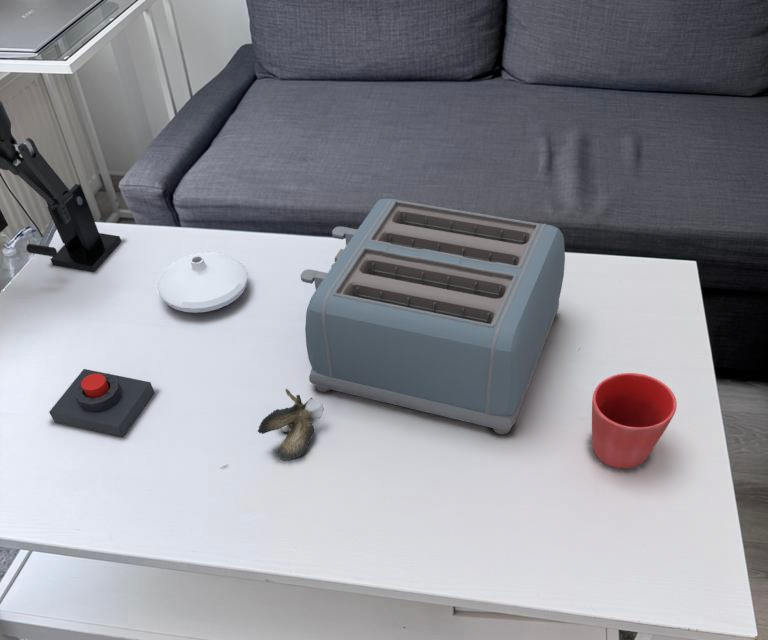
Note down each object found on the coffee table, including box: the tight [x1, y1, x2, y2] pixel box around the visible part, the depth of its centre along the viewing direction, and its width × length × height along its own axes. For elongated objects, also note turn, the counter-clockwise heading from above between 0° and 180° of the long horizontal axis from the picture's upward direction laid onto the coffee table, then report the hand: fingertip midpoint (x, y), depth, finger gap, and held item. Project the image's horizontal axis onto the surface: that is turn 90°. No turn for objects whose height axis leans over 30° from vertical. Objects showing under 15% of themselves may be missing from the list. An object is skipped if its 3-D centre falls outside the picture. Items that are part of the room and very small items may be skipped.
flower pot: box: [591, 372, 677, 469], centre depth 102 cm, size 11×11×10 cm
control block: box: [48, 368, 155, 438], centre depth 114 cm, size 12×10×4 cm
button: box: [81, 374, 109, 398], centre depth 112 cm, size 4×4×2 cm
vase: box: [156, 251, 248, 314], centre depth 130 cm, size 16×16×7 cm
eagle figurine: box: [257, 388, 324, 461], centre depth 108 cm, size 8×7×9 cm
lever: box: [26, 187, 71, 258], centre depth 132 cm, size 13×5×2 cm, turn 162°
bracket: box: [45, 183, 122, 273], centre depth 137 cm, size 10×9×13 cm
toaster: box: [299, 197, 566, 435], centre depth 114 cm, size 31×36×17 cm
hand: (35, 234), depth 128 cm, fingers open, 13 cm apart
